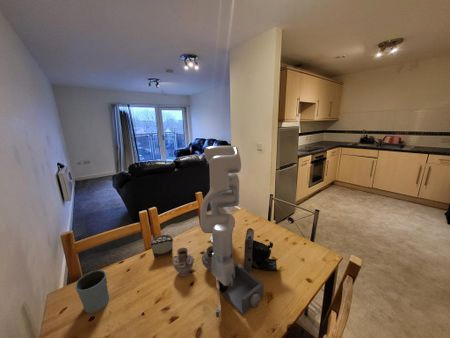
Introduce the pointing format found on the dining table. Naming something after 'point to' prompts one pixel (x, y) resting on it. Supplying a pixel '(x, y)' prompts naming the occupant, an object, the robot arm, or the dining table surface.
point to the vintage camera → (257, 254)
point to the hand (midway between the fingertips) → (223, 289)
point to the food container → (162, 246)
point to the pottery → (190, 261)
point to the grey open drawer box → (244, 290)
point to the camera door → (218, 310)
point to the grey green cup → (93, 291)
